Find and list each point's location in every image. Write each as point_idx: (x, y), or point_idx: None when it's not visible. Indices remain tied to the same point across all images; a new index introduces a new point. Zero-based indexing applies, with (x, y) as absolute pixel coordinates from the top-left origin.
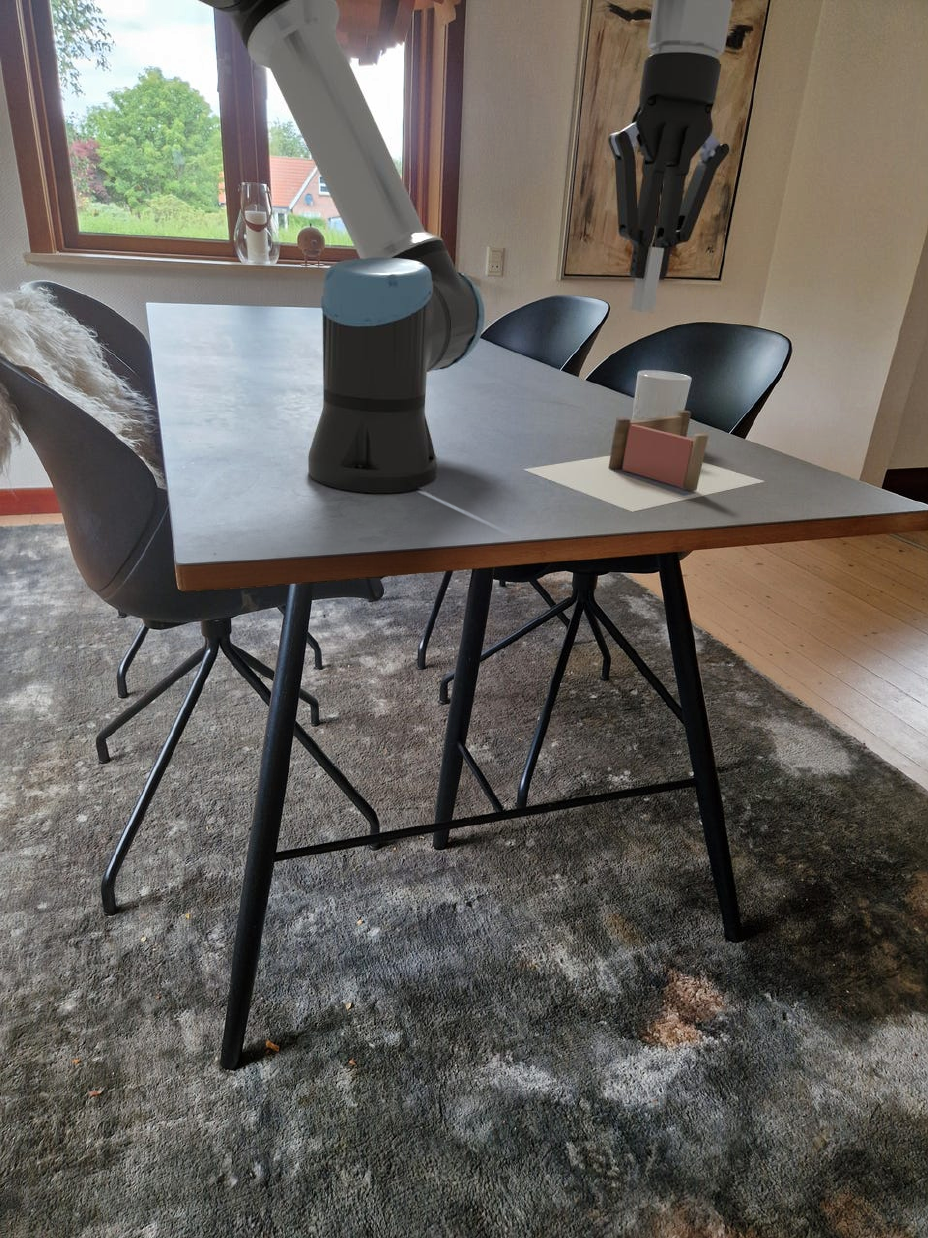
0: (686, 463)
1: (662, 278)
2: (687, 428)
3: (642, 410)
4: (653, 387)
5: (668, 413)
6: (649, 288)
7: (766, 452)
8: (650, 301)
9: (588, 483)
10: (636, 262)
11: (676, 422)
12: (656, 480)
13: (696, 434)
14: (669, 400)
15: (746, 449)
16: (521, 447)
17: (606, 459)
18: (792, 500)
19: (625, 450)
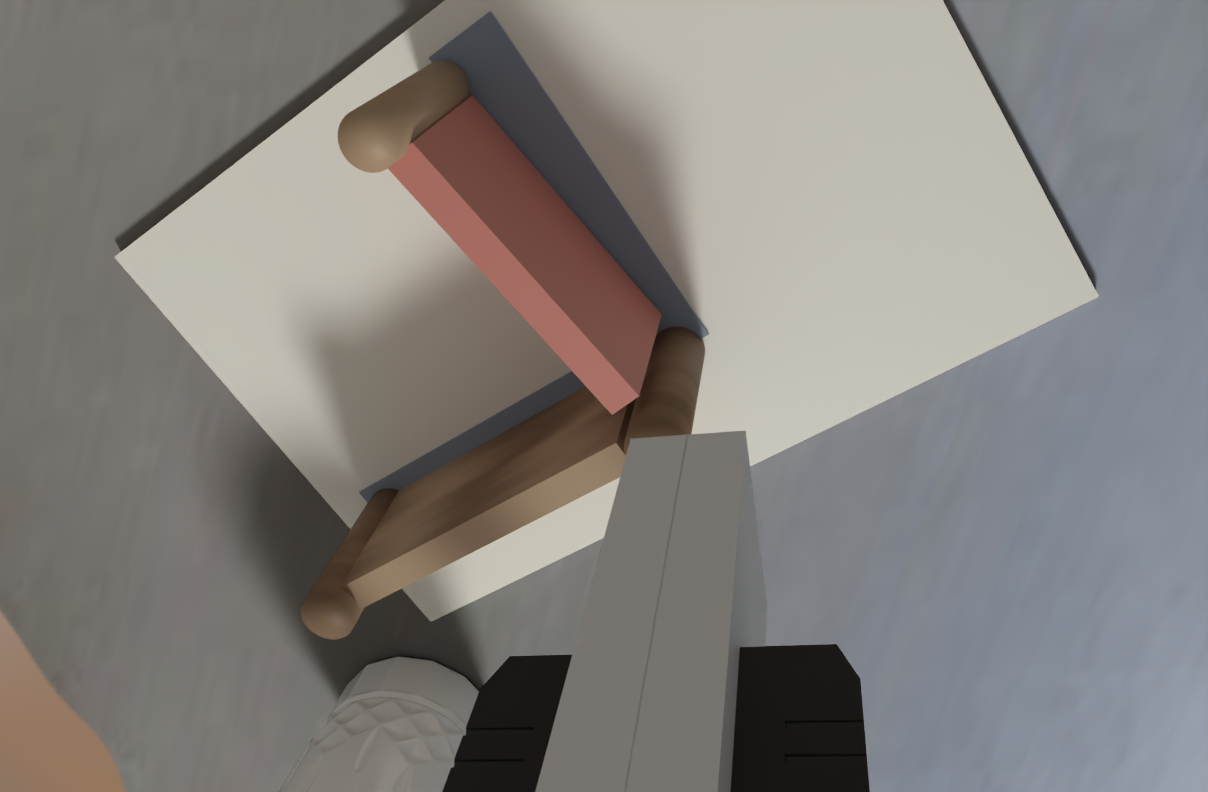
0: (449, 121)
1: (523, 665)
2: (330, 560)
3: None
4: None
5: (360, 739)
6: (686, 540)
7: (38, 627)
8: (663, 480)
9: (864, 131)
10: (866, 762)
11: (377, 559)
12: None
13: (389, 151)
14: (348, 777)
15: (101, 655)
16: (970, 617)
17: None
18: (55, 61)
19: None
